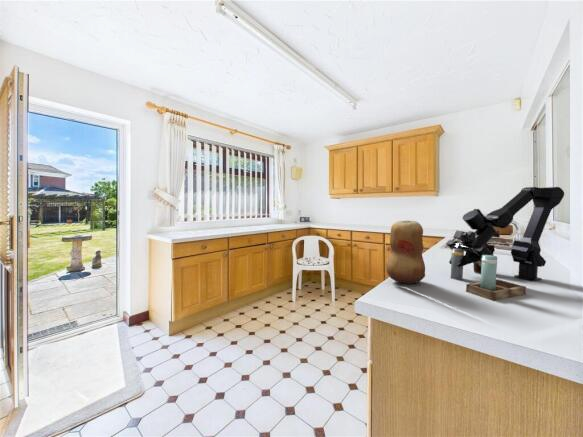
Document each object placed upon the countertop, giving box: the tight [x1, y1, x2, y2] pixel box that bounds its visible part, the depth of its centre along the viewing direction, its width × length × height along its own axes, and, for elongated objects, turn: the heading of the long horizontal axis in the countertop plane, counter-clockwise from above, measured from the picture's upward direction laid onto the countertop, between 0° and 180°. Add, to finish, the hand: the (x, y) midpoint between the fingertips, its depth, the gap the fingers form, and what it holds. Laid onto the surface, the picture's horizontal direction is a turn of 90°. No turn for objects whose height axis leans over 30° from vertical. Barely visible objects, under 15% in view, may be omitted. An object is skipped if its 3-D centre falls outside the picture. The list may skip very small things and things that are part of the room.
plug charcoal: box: [450, 248, 465, 281], centre depth 100 cm, size 4×4×13 cm
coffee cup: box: [472, 243, 496, 275], centre depth 111 cm, size 9×8×13 cm
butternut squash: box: [385, 219, 426, 285], centre depth 96 cm, size 14×13×25 cm
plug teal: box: [480, 255, 498, 291], centre depth 83 cm, size 4×4×13 cm
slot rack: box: [465, 278, 527, 302], centre depth 84 cm, size 17×9×4 cm, turn 110°
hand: (453, 264), depth 100 cm, fingers closed on plug charcoal, 4 cm apart
